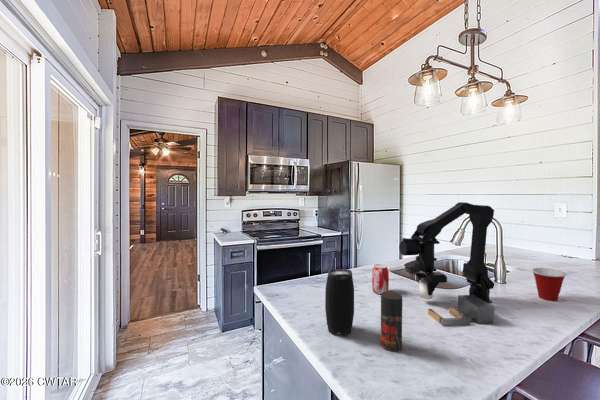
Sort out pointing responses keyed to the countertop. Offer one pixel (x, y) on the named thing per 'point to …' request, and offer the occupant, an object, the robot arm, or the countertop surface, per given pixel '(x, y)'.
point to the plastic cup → (548, 282)
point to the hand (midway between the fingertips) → (425, 292)
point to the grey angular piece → (467, 312)
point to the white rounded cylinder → (424, 289)
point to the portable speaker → (339, 301)
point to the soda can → (380, 278)
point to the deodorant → (391, 321)
